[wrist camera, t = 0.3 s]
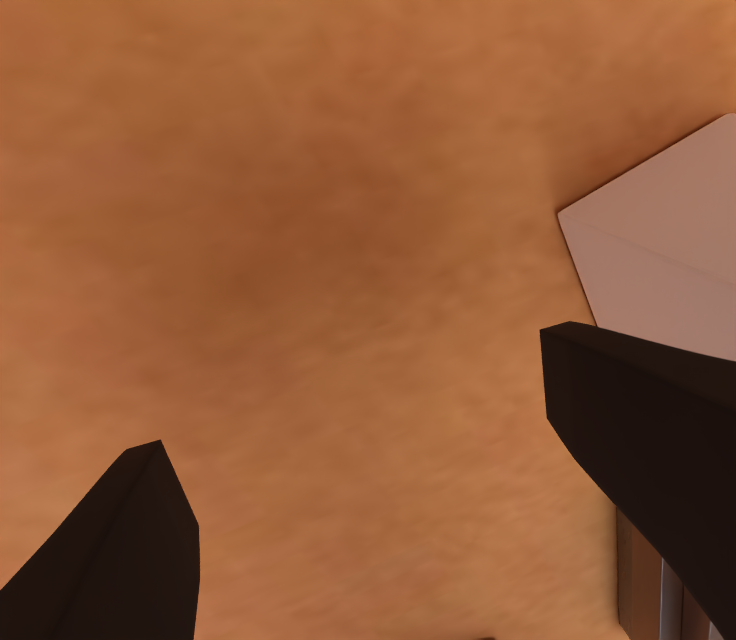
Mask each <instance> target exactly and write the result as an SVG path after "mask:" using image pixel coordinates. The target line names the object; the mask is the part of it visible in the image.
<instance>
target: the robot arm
mask: <svg viewBox="0 0 736 640" xmlns="http://www.w3.org/2000/svg"><path fill="white" fill-rule="evenodd" d="M540 340H541V353H542V365H543V377H544V389H545V402H546V414H547V419H548V421H549V422H550V424H551V425H552V427H553V428H554V430H555V431H556V433H557V434H558V436H559V437H560V439H561V440H562V442H563V443H564V445H565V446H566V448H567V449H568V451H569V452H570V453H571V455H572V456H573V458H574V459H575V460H576V461H577V463H578V464H579V465H580V466H581V467H582V468H583V469H584V471H585V472H586V473H587V474H588V475H589V476H590V477H591V478H592V480H593V481H594V482H595V483H596V484H597V485H598V486H599V487H600V489H601V490H602V491H603V492H604V493H605V494H606V495H607V496H608V497H609V499H610V500H611V501H612V502H613V503H614V504H615V505H616V506H617V507H618V509H619V510H620V511H621V512H622V513H623V514H624V515H625V516H626V517H627V518H628V520H629V521H630V522H631V523H632V524H633V525H634V526H635V527H636V528H637V530H638V531H639V532H640V533H641V534H642V535H643V536H644V537H645V538H646V539H647V541H648V542H649V543H650V544H651V545H652V546H653V547H654V548H655V549H656V551H657V552H658V553H659V554H660V555H661V557H662V558H663V559H664V560H665V561H666V563H667V564H668V565H669V566H670V567H671V569H672V570H673V571H674V572H675V573H676V575H677V576H678V577H679V579H680V580H681V581H682V583H683V584H684V585H685V587H686V588H687V590H688V591H689V592H690V594H691V595H692V596H693V598H694V599H695V600H696V602H697V603H698V604H699V606H700V607H701V608H702V610H703V611H704V612H705V614H706V615H707V617H708V618H709V619H710V621H711V622H712V623H713V625H714V626H715V627H716V629H717V630H718V632H719V633H720V635H721V636H722V637H723V639H724V640H736V361H732V360H727V359H722V358H718V357H713V356H709V355H704V354H700V353H696V352H692V351H688V350H684V349H680V348H676V347H672V346H668V345H664V344H660V343H657V342H653V341H649V340H645V339H642V338H638V337H634V336H631V335H627V334H623V333H619V332H616V331H612V330H608V329H604V328H600V327H596V326H592V325H588V324H583V323H578V322H572V321H568V322H565V323H561V324H558V325H554V326H551V327H547V328H544V329H541V330H540ZM199 583H200V546H199V525H198V522H197V520H196V518H195V516H194V513H193V511H192V509H191V507H190V504H189V502H188V500H187V498H186V495H185V493H184V491H183V489H182V486H181V484H180V482H179V480H178V477H177V475H176V473H175V471H174V468H173V466H172V464H171V462H170V459H169V457H168V455H167V453H166V450H165V448H164V446H163V444H162V441H161V439H160V440H157V441H154V442H150V443H147V444H143V445H140V446H136V447H133V448H129V449H126V450H125V451H124V452H123V453H122V454H121V455H120V456H119V457H118V458H117V459H116V460H115V461H114V463H113V464H112V465H111V466H110V467H109V468H108V469H107V471H106V472H105V473H104V474H103V475H102V476H101V478H100V479H99V480H98V481H97V482H96V483H95V485H94V486H93V487H92V488H91V489H90V491H89V492H88V493H87V494H86V495H85V497H84V498H83V499H82V500H81V501H80V502H79V504H78V505H77V506H76V507H75V508H74V509H73V511H72V512H71V513H70V514H69V515H68V516H67V518H66V519H65V520H64V521H63V522H62V523H61V525H60V526H59V527H58V528H57V529H56V530H55V532H54V533H53V534H52V535H51V536H50V537H49V538H48V539H47V541H46V542H45V543H44V544H43V545H42V546H41V547H40V548H39V549H38V550H37V551H36V552H35V554H34V555H33V556H32V557H31V558H30V559H29V560H28V561H27V562H26V563H25V564H24V565H23V567H22V568H21V569H20V570H19V571H18V572H17V573H16V574H15V575H14V576H13V577H12V578H11V580H10V581H9V582H8V583H7V584H6V585H5V586H4V587H3V588H2V589H1V590H0V640H193V639H194V631H195V622H196V612H197V603H198V594H199Z"/></svg>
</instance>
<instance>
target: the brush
mask: <svg viewBox="0 0 736 640" xmlns="http://www.w3.org/2000/svg"><path fill="white" fill-rule="evenodd" d="M617 527H618V586H619V624H620V625H621V626H622V628H623V629H624V631H625V632H626V634H627V635H628V636H629V638H630V639H631V640H724V639H723V637H722V636H721V635H720V633H719V632H718V630H717V629H716V627H715V626H714V625H713V623H712V622H711V621H710V619H709V618H708V617H707V615H706V614H705V612H704V611H703V610H702V608H701V607H700V606H699V604H698V603H697V602H696V600H695V599H694V598H693V596H692V595H691V594H690V592H689V591H688V590H687V588H686V587H685V585H684V584H683V583H682V581H681V580H680V579H679V577H678V576H677V575H676V573H675V572H674V571H673V570H672V569H671V567H670V566H669V565H668V564H667V563H666V561H665V560H664V559H663V558H662V557H661V555H660V554H659V553H658V552H657V551H656V549H655V548H654V547H653V546H652V545H651V544H650V543H649V542H648V541H647V539H646V538H645V537H644V536H643V535H642V534H641V533H640V532H639V531H638V530H637V528H636V527H635V526H634V525H633V524H632V523H631V522H630V521H629V520H628V518H627V517H626V516H625V515H624V514H623V513H622V512H621V511H620V510H619V509H618V507H617Z"/></svg>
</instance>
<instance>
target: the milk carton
mask: <svg viewBox="0 0 736 640" xmlns="http://www.w3.org/2000/svg"><path fill="white" fill-rule="evenodd" d="M558 219H559V222H560V225H561V228H562V231H563V234H564V236H565V239H566V242H567V245H568V247H569V250H570V253H571V255H572V258H573V261H574V264H575V266H576V269H577V272H578V274H579V277H580V280H581V283H582V285H583V288H584V291H585V293H586V296H587V299H588V302H589V304H590V307H591V310H592V312H593V315H594V318H595V321H596V323H597V326H598V327H600V328H604V329H608V330H612V331H616V332H619V333H623V334H627V335H631V336H634V337H638V338H642V339H645V340H649V341H653V342H657V343H660V344H664V345H668V346H672V347H676V348H680V349H684V350H688V351H692V352H696V353H700V354H704V355H709V356H713V357H718V358H722V359H727V360H732V361H736V113H728V114H725V115H724V116H722V117H720V118H719V119H717V120H715V121H713V122H712V123H710V124H708V125H707V126H705V127H703V128H701V129H700V130H698V131H696V132H695V133H693V134H691V135H690V136H688V137H686V138H684V139H683V140H681V141H679V142H678V143H676V144H674V145H672V146H671V147H669V148H667V149H666V150H664V151H662V152H661V153H659V154H657V155H655V156H654V157H652V158H650V159H649V160H647V161H645V162H643V163H642V164H640V165H638V166H637V167H635V168H633V169H631V170H630V171H628V172H626V173H625V174H623V175H621V176H620V177H618V178H616V179H614V180H613V181H611V182H609V183H608V184H606V185H604V186H602V187H601V188H599V189H597V190H596V191H594V192H592V193H591V194H589V195H587V196H585V197H584V198H582V199H580V200H579V201H577V202H575V203H573V204H572V205H570V206H568V207H567V208H565V209H563V210H562V211H560V212H559V213H558Z"/></svg>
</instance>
